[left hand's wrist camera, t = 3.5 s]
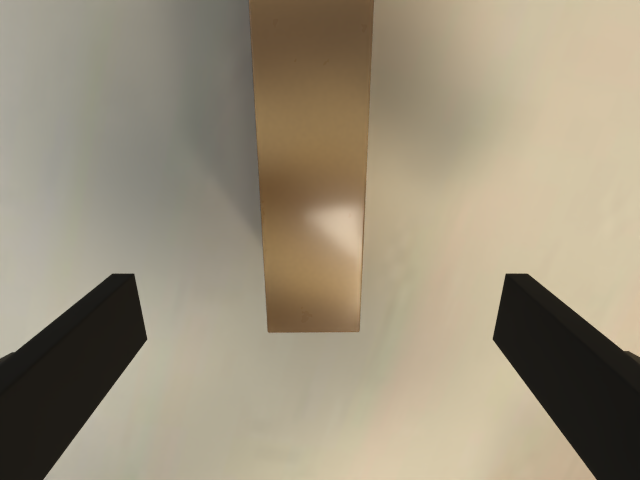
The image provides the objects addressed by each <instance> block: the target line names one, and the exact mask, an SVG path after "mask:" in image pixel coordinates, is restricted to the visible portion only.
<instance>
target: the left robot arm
mask: <svg viewBox="0 0 640 480" xmlns="http://www.w3.org/2000/svg"><path fill="white" fill-rule="evenodd" d="M146 340H147V335H146V330H145V325H144V320H143V315H142V310H141V305H140V300H139V295H138V290H137V285H136V280H135V275H134V274H111V275H110V276H109V277H108V278H106V279H105V280H104V281H103V282H102V283H100V284H99V285H98V286H97V287H95V288H94V289H93V290H92V291H90V292H89V293H88V294H87V295H85V296H84V297H83V298H82V299H80V300H79V301H78V302H77V303H75V304H74V305H73V306H72V307H71V308H69V309H68V310H67V311H66V312H64V313H63V314H62V315H61V316H59V317H58V318H57V319H56V320H54V321H53V322H52V323H51V324H49V325H48V326H47V327H46V328H44V329H43V330H42V331H41V332H39V333H38V334H37V335H36V336H35V337H33V338H32V339H31V340H30V341H28V342H27V343H26V344H25V345H23V346H22V347H21V348H20V349H18V350H17V351H16V352H12V353H10V354H8V355H6V356H4V357H3V358H1V359H0V480H43V479H44V478H45V477H46V475H47V474H48V472H49V471H50V470H51V468H52V467H53V466H54V464H55V463H56V462H57V460H58V459H59V458H60V456H61V455H62V454H63V452H64V451H65V450H66V448H67V447H68V446H69V444H70V443H71V441H72V440H73V439H74V437H75V436H76V435H77V433H78V432H79V431H80V429H81V428H82V427H83V425H84V424H85V423H86V421H87V420H88V419H89V417H90V416H91V415H92V413H93V412H94V410H95V409H96V408H97V406H98V405H99V404H100V402H101V401H102V400H103V398H104V397H105V396H106V394H107V393H108V392H109V390H110V389H111V388H112V386H113V385H114V384H115V382H116V381H117V379H118V378H119V377H120V375H121V374H122V373H123V371H124V370H125V369H126V367H127V366H128V365H129V363H130V362H131V361H132V359H133V358H134V357H135V355H136V354H137V352H138V351H139V350H140V348H141V347H142V346H143V344H144V343H145V342H146ZM493 340H494V342H495V343H496V344H497V346H498V347H499V348H500V350H501V351H502V352H503V354H504V355H505V357H506V358H507V359H508V361H509V362H510V363H511V365H512V366H513V367H514V369H515V370H516V371H517V373H518V374H519V375H520V377H521V378H522V379H523V381H524V382H525V384H526V385H527V386H528V388H529V389H530V390H531V392H532V393H533V394H534V396H535V397H536V398H537V400H538V401H539V402H540V404H541V405H542V406H543V408H544V409H545V410H546V412H547V413H548V415H549V416H550V417H551V419H552V420H553V421H554V423H555V424H556V425H557V427H558V428H559V429H560V431H561V432H562V433H563V435H564V436H565V437H566V439H567V440H568V441H569V443H570V444H571V446H572V447H573V448H574V450H575V451H576V452H577V454H578V455H579V456H580V458H581V459H582V460H583V462H584V463H585V464H586V466H587V467H588V468H589V470H590V471H591V472H592V474H593V475H594V477H595V478H596V479H597V480H640V357H638V356H636V355H635V354H633V353H631V352H629V351H623V350H622V349H620V348H619V347H618V346H617V345H615V344H614V343H613V342H612V341H610V340H609V339H608V338H607V337H605V336H604V335H603V334H602V333H601V332H599V331H598V330H597V329H596V328H594V327H593V326H592V325H591V324H589V323H588V322H587V321H586V320H584V319H583V318H582V317H581V316H579V315H578V314H577V313H576V312H574V311H573V310H572V309H571V308H569V307H568V306H567V305H566V304H565V303H563V302H562V301H561V300H560V299H558V298H557V297H556V296H555V295H553V294H552V293H551V292H550V291H548V290H547V289H546V288H545V287H543V286H542V285H541V284H540V283H538V282H537V281H536V280H535V279H534V278H532V277H531V276H530V275H529V274H506V275H505V280H504V285H503V290H502V295H501V300H500V305H499V310H498V315H497V320H496V325H495V330H494V335H493Z"/></svg>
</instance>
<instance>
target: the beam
mask: <svg viewBox="0 0 640 480" xmlns="http://www.w3.org/2000/svg"><path fill="white" fill-rule="evenodd" d="M373 8H374V0H249V15H250V32H251V50H252V67H253V84H254V102H255V119H256V136H257V154H258V171H259V189H260V206H261V223H262V241H263V258H264V275H265V293H266V310H267V328H268V332H269V333H275V332H359V330H360V307H361V284H362V261H363V238H364V215H365V192H366V169H367V146H368V123H369V100H370V77H371V54H372V31H373Z"/></svg>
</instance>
